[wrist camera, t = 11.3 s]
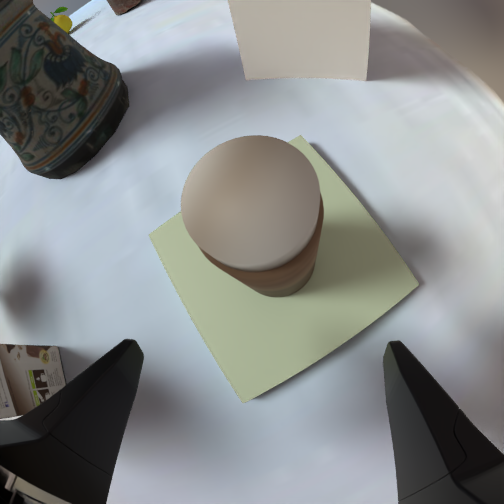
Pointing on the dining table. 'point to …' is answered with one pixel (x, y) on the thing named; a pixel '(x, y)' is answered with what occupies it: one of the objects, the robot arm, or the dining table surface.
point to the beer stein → (53, 93)
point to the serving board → (293, 306)
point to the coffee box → (28, 377)
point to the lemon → (62, 20)
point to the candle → (122, 5)
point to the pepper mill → (256, 213)
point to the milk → (303, 38)
